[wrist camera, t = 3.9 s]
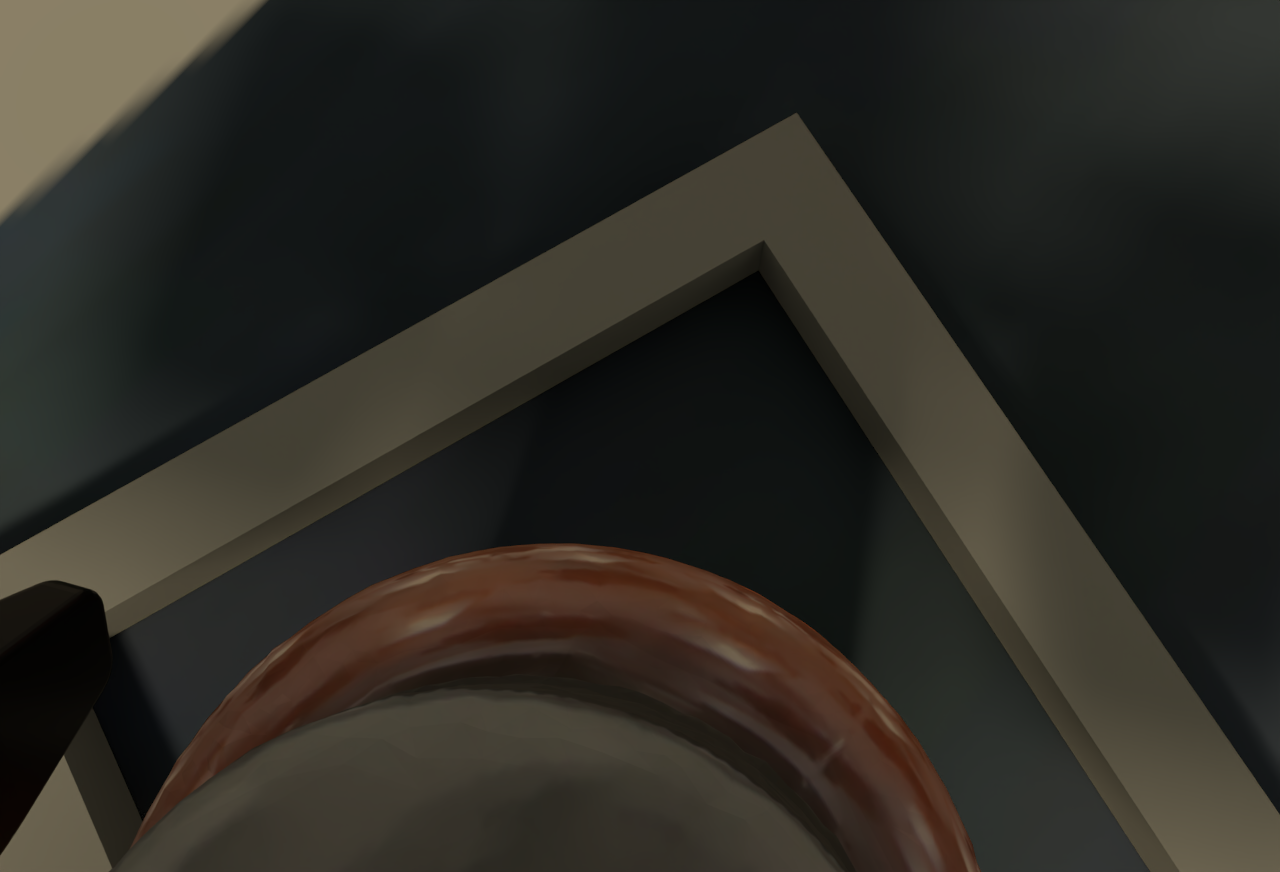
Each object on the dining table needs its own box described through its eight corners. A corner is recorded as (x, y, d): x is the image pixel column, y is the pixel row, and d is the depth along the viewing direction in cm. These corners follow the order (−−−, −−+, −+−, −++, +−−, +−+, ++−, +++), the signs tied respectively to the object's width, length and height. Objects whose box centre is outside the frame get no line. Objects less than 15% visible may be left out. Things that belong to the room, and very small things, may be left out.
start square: (1391, 1037, 14) (1456, 1070, 13) (390, 1707, 13) (360, 1810, 12) (789, 151, 17) (797, 112, 16) (-57, 622, 16) (-115, 619, 15)
